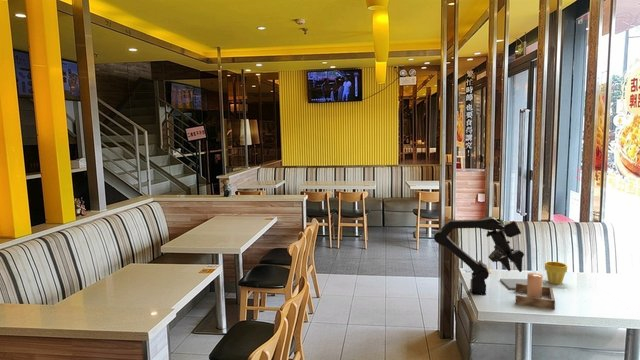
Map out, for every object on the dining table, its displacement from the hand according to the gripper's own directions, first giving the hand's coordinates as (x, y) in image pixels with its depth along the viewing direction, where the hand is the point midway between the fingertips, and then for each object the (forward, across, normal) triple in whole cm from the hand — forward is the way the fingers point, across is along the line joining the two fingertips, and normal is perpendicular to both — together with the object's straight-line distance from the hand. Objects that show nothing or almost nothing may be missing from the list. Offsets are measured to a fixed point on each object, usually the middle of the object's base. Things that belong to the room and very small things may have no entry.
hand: (515, 271), depth 207 cm
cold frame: (+15, +2, +1) cm, 15 cm away
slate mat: (+12, -17, +8) cm, 22 cm away
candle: (+15, +2, +1) cm, 15 cm away
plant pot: (+21, -18, +28) cm, 39 cm away
